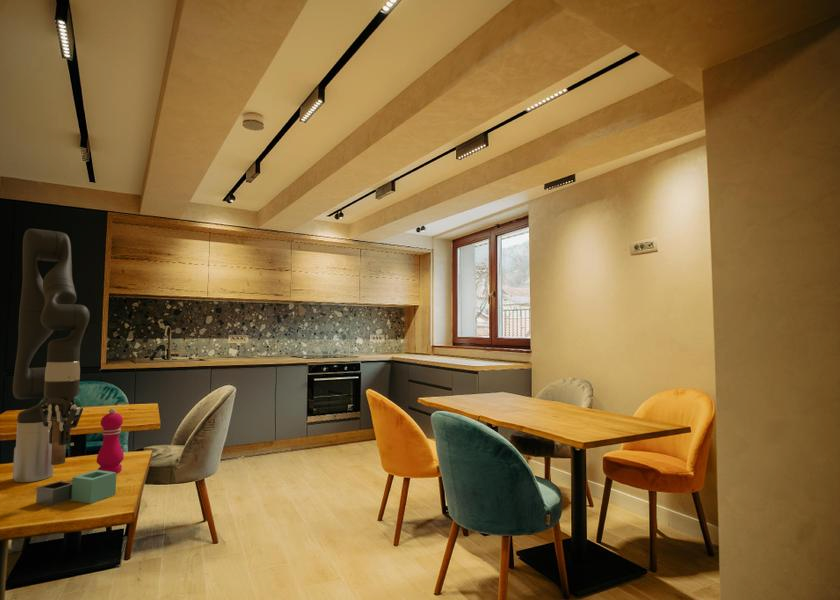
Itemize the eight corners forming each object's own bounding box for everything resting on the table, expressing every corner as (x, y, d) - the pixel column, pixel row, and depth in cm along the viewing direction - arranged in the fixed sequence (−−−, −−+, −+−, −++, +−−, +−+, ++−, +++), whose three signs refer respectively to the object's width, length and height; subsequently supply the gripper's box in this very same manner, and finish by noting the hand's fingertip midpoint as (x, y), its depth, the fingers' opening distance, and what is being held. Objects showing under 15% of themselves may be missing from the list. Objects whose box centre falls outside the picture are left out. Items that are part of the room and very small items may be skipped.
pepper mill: (109, 476, 147) (112, 410, 148) (90, 475, 148) (93, 409, 150) (128, 469, 154) (131, 406, 155) (109, 468, 155) (112, 406, 157)
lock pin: (45, 464, 126) (47, 416, 126) (60, 460, 129) (62, 413, 130) (55, 466, 125) (57, 417, 125) (70, 462, 128) (72, 414, 129)
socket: (71, 500, 126) (72, 477, 127) (96, 491, 133) (97, 469, 133) (90, 503, 124) (91, 480, 125) (115, 494, 131) (116, 472, 131)
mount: (36, 503, 124) (36, 487, 125) (59, 495, 130) (60, 480, 130) (52, 506, 122) (53, 490, 123) (75, 498, 128) (76, 483, 128)
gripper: (29, 378, 127) (25, 444, 126) (66, 381, 122) (63, 449, 121) (58, 375, 134) (55, 438, 133) (95, 378, 129) (91, 443, 128)
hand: (59, 443), depth 127 cm, fingers closed on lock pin, 3 cm apart
